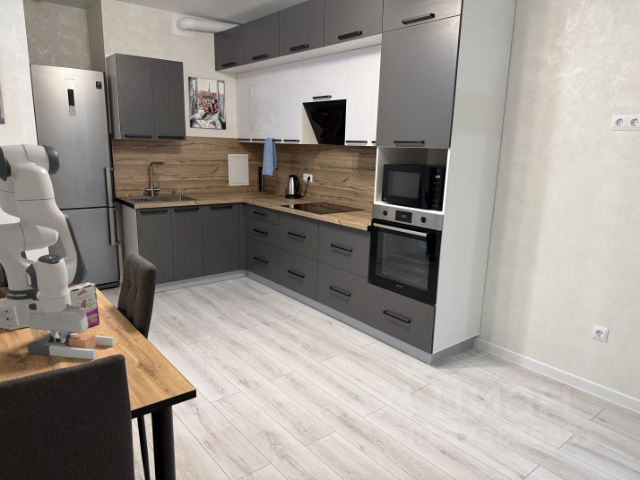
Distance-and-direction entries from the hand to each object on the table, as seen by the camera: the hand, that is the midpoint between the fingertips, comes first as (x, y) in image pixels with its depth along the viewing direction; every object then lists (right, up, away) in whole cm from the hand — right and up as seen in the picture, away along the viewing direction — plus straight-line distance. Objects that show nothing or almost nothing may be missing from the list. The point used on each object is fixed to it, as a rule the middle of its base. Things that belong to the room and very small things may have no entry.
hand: (60, 342), depth 152 cm
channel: (+8, -3, -1) cm, 9 cm away
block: (+8, -3, -1) cm, 9 cm away
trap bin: (-4, -2, +1) cm, 4 cm away
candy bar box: (-2, +1, +18) cm, 18 cm away
